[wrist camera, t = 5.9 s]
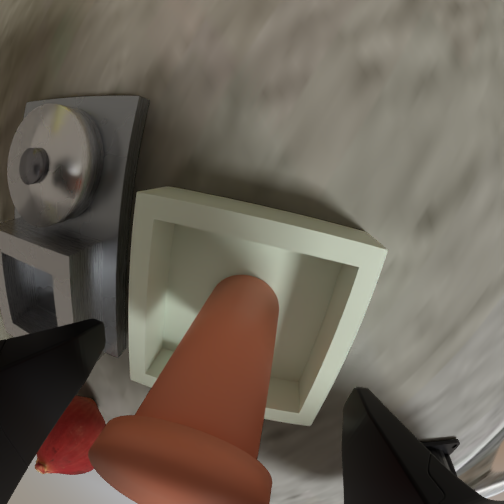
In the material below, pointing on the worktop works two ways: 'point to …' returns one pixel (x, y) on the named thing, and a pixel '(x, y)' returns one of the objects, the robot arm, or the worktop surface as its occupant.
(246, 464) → the pin
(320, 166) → the worktop surface
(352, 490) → the robot arm
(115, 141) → the block
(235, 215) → the tray
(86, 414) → the onion
